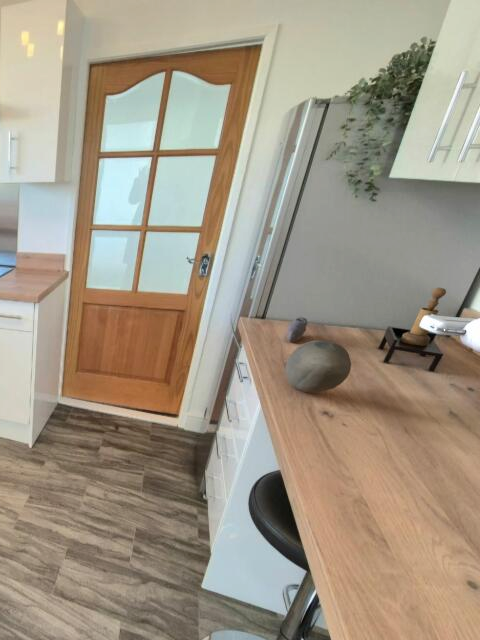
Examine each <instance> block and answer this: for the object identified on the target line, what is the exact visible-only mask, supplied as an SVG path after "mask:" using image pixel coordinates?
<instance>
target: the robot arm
mask: <svg viewBox="0 0 480 640" xmlns="http://www.w3.org/2000/svg"><path fill="white" fill-rule="evenodd" d="M419 326H420V327H421V328H423V329H425V330H428V332H429V333H436V335H441V336H451V337H459V339H460V341H461V343H462V344H463V345H464V346H466V347H467V348H470V349H471V350H473V351H475V352H477V353H480V317H471V318H470V317H458V316H447V315H446V316H445V315H439V314H437V315H433V314H431V315H426V316H424V317H423V318H422V320H421V322H420V325H419Z"/></svg>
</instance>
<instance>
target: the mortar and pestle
mask: <svg viewBox="0 0 480 640" xmlns="http://www.w3.org/2000/svg"><path fill="white" fill-rule="evenodd" d="M446 294H447V290H446V289H445V288H443V287H435V288H434V289H432V291H431V300H429V301H428V302H427V307H421V308H420V310H419V312H418V314H417V317H416V319H415V321H414V322H413V325H412V327H411V328H410V330H411V331H409V332H406V333H404V334H403V336H402V338H401V341H402V342H404V343H407V344H412V345H418V346H426V345H428V343H429V341H430V337H429V336H428V335H427V333H428V332H429V331H428V330H425V329H423V328H421V327H420V326H419V325H420V322H421V320H422V318H423V317H424V316H426V315H431V314H433V315H438V313H439V310H438V309H436V307H437V306H438V305H439V303H440V302H439V300H440V299H441V298H443V297H444V296H445V295H446Z"/></svg>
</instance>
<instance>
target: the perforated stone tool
mask: <svg viewBox="0 0 480 640" xmlns="http://www.w3.org/2000/svg"><path fill="white" fill-rule="evenodd" d="M307 325H308V320H307V318H305V317H303V316H298V317H296V318H294V320H292V321H291V322H290V324H289V325H288V327H287V331H286V339H287V341H288V342H291V343H294V342H297V341H298V340H300V339H301V338H302V337H303V335H304V334H305V332H306V331H307Z"/></svg>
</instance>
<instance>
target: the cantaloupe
mask: <svg viewBox="0 0 480 640" xmlns="http://www.w3.org/2000/svg"><path fill="white" fill-rule="evenodd" d="M351 369H352V362H351V358H350V354H349V352H348V351H347V349H346V348H345V347H343V345H340V344H338V343H335V342H334V341H333V342H332V341H329V340H319V339H318V340H317V339H316V340H311V341H307V342H304V343H303V344H301V345H298V347H296V348H295V349H294V350H293V351H292V353H291V354H290V355H289V357H288V358H287V360H286V363H285V375H286V379H287V381H288V382H289V384H290V385H291V386H292V387H293V388H294V389H296V390H298V391H300V392H304V393H309V394H312V393H313V394H318V393H322V392H328V391H331V390H333V389H335V388H337V387H338V386H340V385H341V384H342V383H344V382H345V380H346V379H347V378H348V377H349V375H350V372H351Z"/></svg>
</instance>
